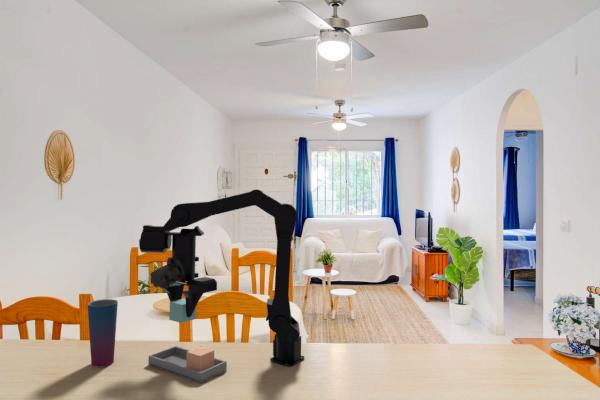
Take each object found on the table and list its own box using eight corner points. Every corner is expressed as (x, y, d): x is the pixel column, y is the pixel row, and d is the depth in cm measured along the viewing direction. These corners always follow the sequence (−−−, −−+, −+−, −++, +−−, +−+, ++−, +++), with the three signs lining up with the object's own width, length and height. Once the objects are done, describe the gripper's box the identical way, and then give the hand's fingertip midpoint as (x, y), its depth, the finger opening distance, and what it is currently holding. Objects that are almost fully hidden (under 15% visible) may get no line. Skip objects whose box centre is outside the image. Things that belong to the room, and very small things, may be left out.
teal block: (195, 318, 111) (195, 301, 111) (181, 323, 107) (181, 304, 107) (183, 315, 114) (183, 298, 114) (169, 319, 110) (169, 301, 110)
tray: (226, 370, 105) (226, 361, 105) (200, 383, 98) (200, 373, 98) (175, 354, 115) (175, 345, 115) (148, 364, 108) (148, 355, 108)
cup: (122, 358, 112) (122, 299, 111) (108, 369, 105) (108, 306, 104) (97, 357, 112) (97, 298, 112) (81, 367, 105) (81, 305, 105)
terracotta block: (214, 369, 104) (214, 350, 104) (200, 375, 101) (200, 356, 101) (200, 364, 107) (200, 346, 107) (186, 370, 103) (186, 351, 103)
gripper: (132, 252, 109) (131, 315, 109) (183, 261, 98) (181, 330, 99) (169, 248, 118) (168, 306, 118) (219, 256, 107) (217, 319, 108)
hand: (182, 315), depth 110 cm, fingers closed on teal block, 4 cm apart
